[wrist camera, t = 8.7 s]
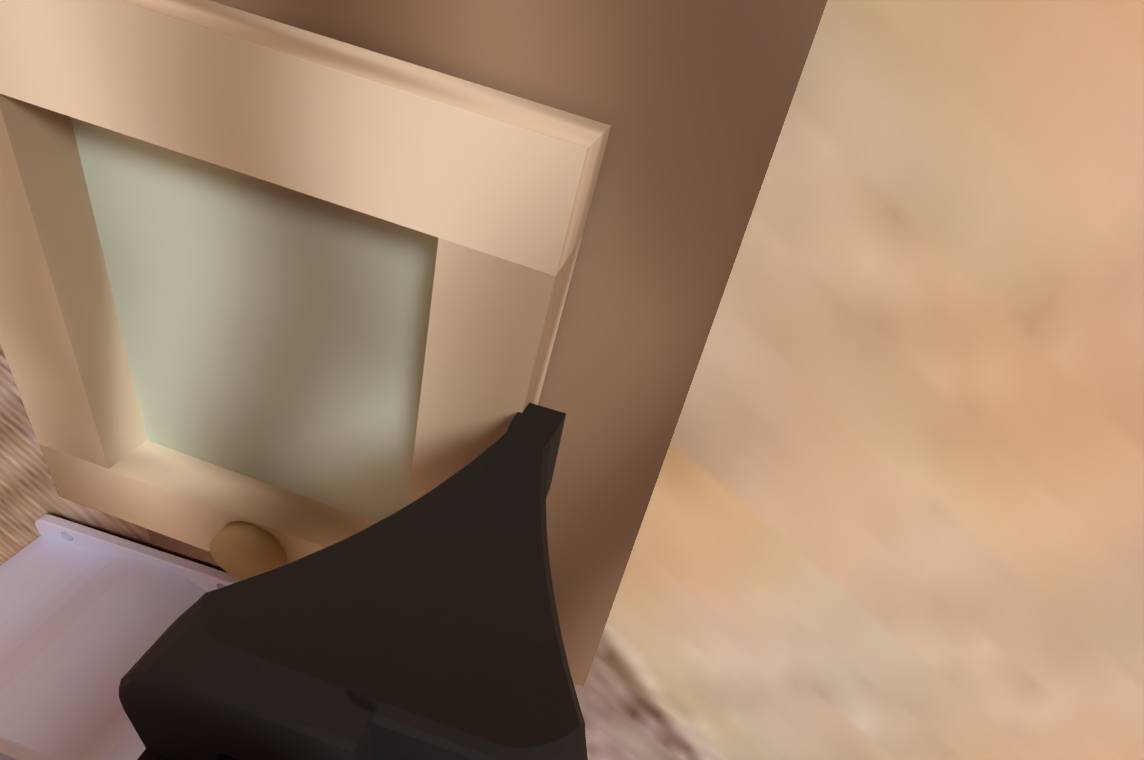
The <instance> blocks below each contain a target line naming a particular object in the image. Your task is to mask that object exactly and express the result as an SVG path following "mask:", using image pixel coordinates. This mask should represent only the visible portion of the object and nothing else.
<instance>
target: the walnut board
mask: <svg viewBox="0 0 1144 760" xmlns="http://www.w3.org/2000/svg"><path fill="white" fill-rule="evenodd" d="M210 1H213V2H216V3H220V4H223V5H226V6H229V7H232V8H236V9H239V10H242V11H245V12H248V13H252V14H255V15H258V16H261V17H264V18H268V19H271V20H274V21H277V22H280V23H284V24H287V25H290V26H293V27H296V28H300V29H303V30H306V31H309V32H312V33H316V34H319V35H322V36H325V37H328V38H332V39H335V40H338V41H341V42H345V43H348V44H351V45H354V46H357V47H361V48H364V49H367V50H370V51H373V52H377V53H380V54H383V55H386V56H389V57H393V58H396V59H399V60H402V61H405V62H409V63H412V64H415V65H418V66H421V67H425V68H428V69H431V70H434V71H437V72H441V73H444V74H447V75H450V76H453V77H457V78H460V79H463V80H466V81H470V82H473V83H476V84H479V85H482V86H486V87H489V88H492V89H495V90H498V91H502V92H505V93H508V94H511V95H514V96H518V97H521V98H524V99H527V100H530V101H534V102H537V103H540V104H543V105H546V106H550V107H553V108H556V109H559V110H562V111H566V112H569V113H572V114H575V115H578V116H582V117H585V118H588V119H591V120H594V121H598V122H601V123H604V124H607V125H611V128H610V132H609V136H608V140H607V144H606V147H605V151H604V155H603V159H602V163H601V166H600V170H599V174H598V178H597V182H596V185H595V189H594V193H593V197H592V201H591V204H590V208H589V212H588V216H587V220H586V223H585V227H584V231H583V235H582V239H581V242H580V246H579V250H578V254H577V257H576V261H575V265H574V269H573V273H572V276H571V280H570V284H569V288H568V292H567V295H566V299H565V303H564V307H563V311H562V314H561V318H560V322H559V326H558V330H557V333H556V337H555V341H554V345H553V349H552V352H551V356H550V360H549V364H548V368H547V371H546V375H545V379H544V383H543V387H542V390H541V394H540V398H539V402H538V405H540V406H543V407H546V408H550V409H553V410H556V411H560V412H563V413H566V417H565V422H564V426H563V431H562V436H561V440H560V445H559V450H558V454H557V459H556V464H555V468H554V473H553V478H552V482H551V486H550V489H549V492H548V494H547V497H546V522H547V539H548V551H549V561H550V569H551V577H552V584H553V591H554V597H555V602H556V608H557V613H558V618H559V624H560V629H561V634H562V640H563V644H564V648H565V652H566V656H567V661H568V665H569V669H570V673H571V677H572V680H573V682H574V683H577V684H580V685H583V686H584V683H585V681H586V678H587V675H588V672H589V669H590V667H591V664H592V661H593V658H594V655H595V652H596V650H597V647H598V644H599V641H600V638H601V636H602V633H603V630H604V627H605V624H606V622H607V619H608V616H609V613H610V610H611V607H612V605H613V602H614V599H615V596H616V593H617V591H618V588H619V585H620V582H621V579H622V577H623V574H624V571H625V568H626V565H627V562H628V560H629V557H630V554H631V551H632V548H633V546H634V543H635V540H636V537H637V534H638V532H639V529H640V526H641V523H642V520H643V517H644V515H645V512H646V509H647V506H648V503H649V501H650V498H651V495H652V492H653V489H654V487H655V484H656V481H657V478H658V475H659V472H660V470H661V467H662V464H663V461H664V458H665V456H666V453H667V450H668V447H669V444H670V442H671V439H672V436H673V433H674V430H675V427H676V425H677V422H678V419H679V416H680V413H681V411H682V408H683V405H684V402H685V399H686V397H687V394H688V391H689V388H690V385H691V382H692V380H693V377H694V374H695V371H696V368H697V366H698V363H699V360H700V357H701V354H702V352H703V349H704V346H705V343H706V340H707V337H708V335H709V332H710V329H711V326H712V323H713V321H714V318H715V315H716V312H717V309H718V307H719V304H720V301H721V298H722V295H723V292H724V290H725V287H726V284H727V281H728V278H729V276H730V273H731V270H732V267H733V264H734V261H735V259H736V256H737V253H738V250H739V247H740V245H741V242H742V239H743V236H744V233H745V231H746V228H747V225H748V222H749V219H750V216H751V214H752V211H753V208H754V205H755V202H756V200H757V197H758V194H759V191H760V188H761V186H762V183H763V180H764V177H765V174H766V171H767V169H768V166H769V163H770V160H771V157H772V155H773V152H774V149H775V146H776V143H777V141H778V138H779V135H780V132H781V129H782V126H783V124H784V121H785V118H786V115H787V112H788V110H789V107H790V104H791V101H792V98H793V96H794V93H795V90H796V87H797V84H798V81H799V79H800V76H801V73H802V70H803V67H804V65H805V62H806V59H807V56H808V53H809V51H810V48H811V45H812V42H813V39H814V36H815V34H816V31H817V28H818V25H819V22H820V20H821V17H822V14H823V11H824V8H825V6H826V3H827V0H210ZM148 532H149V535H150V538H151V541H152V543H153V545H156V546H159V547H162V548H165V549H168V550H171V551H174V552H177V553H180V554H183V555H186V556H189V557H192V558H195V559H198V560H202V561H205V562H208V563H211V564H214V565H217V566H219V565H218V564H217V562H216V561H215V560H214V558H213V557H212V555H211V552H209V551H206V550H203V549H201V548H198V547H195V546H193V545H190V544H187V543H184V542H182V541H179V540H176V539H174V538H171V537H168V536H165V535H163V534H160V533H157V532H155V531H152V530H149V529H148Z"/></svg>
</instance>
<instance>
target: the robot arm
mask: <svg viewBox="0 0 1144 760" xmlns="http://www.w3.org/2000/svg"><path fill="white" fill-rule="evenodd" d="M565 417H566V413H563V412H560V411H556V410H553V409H550V408H546V407H543V406H540V405H536V404H533V403H529V404H528V405H527V406H526V408H525V409H524V411H523V412H522V413H521V412H518V413H517V414H516V416H515V417H514V418H513V420H512V421H511V423H510V425H509V427H508V430H507V432H506V433H505V434H504V435H503V436H502V437H501V438H499V439H498V440H497V441H496V442H495V443H494V444H492V445H491V446H490V447H489V448H488V449H486V450H485V451H484V452H483V453H481V454H480V455H479V456H478V457H477V458H475V459H474V460H473V461H472V462H470V463H469V464H468V465H466V466H465V467H464V468H462V469H461V470H459V471H458V472H457V473H455V474H454V475H452V476H451V477H450V478H448V479H447V480H446V481H444V482H443V483H441V484H440V485H439V486H437V487H436V488H434V489H433V490H431V491H430V492H428V493H426V494H425V495H423V496H422V497H420V498H419V499H417V500H415V501H414V502H412V503H410V504H409V505H407V506H405V507H404V508H402V509H400V510H399V511H397V512H395V513H394V514H392V515H390V516H388V517H386V518H384V519H382V520H381V521H379V522H377V523H375V524H373V525H371V526H369V527H368V528H366V529H364V530H362V531H360V532H358V533H356V534H354V535H352V536H350V537H348V538H346V539H344V540H341V541H339V542H337V543H335V544H332V545H330V546H328V547H326V548H323V549H321V550H319V551H316V552H314V553H312V554H309V555H307V556H305V557H303V558H300V559H298V560H296V561H293V562H291V563H289V564H286V565H283V566H281V567H278V568H276V569H273V570H270V571H267V572H265V573H262V574H259V575H256V576H253V577H250V578H248V579H245V580H242V581H241V580H239V579H237V578H235V577H233V576H232V575H230V574H229V573H227V572H224V571H221V570H218V569H215V568H212V567H209V566H206V565H202V564H199V563H196V562H193V561H190V560H187V559H184V558H181V557H178V556H175V555H172V554H169V553H166V552H163V551H160V550H157V549H154V548H151V547H148V546H145V545H142V544H139V543H136V542H132V541H129V540H126V539H123V538H120V537H117V536H114V535H111V534H108V533H105V532H102V531H99V530H96V529H93V528H90V527H87V526H84V525H81V524H78V523H75V522H72V521H69V520H65V519H62V518H59V517H56V516H53V515H49V514H45V515H42V516H41V517H40V518H38V519H37V520H36V521H35V525H36V527H37V529H38V531H39V533H40V535H41V536H39V537H38V538H36V539H35V540H34V541H32V542H31V543H30V544H28V545H27V546H26V547H24V548H23V549H22V550H21V551H19V552H18V553H17V554H15V555H14V556H13V557H11V558H10V559H9V560H7V561H6V562H5V563H3V564H2V565H1V566H0V760H588V758H587V748H586V738H585V723H584V719H583V716H582V712H581V709H580V705H579V702H578V699H577V695H576V691H575V688H574V684H573V680H572V677H571V673H570V669H569V665H568V661H567V656H566V652H565V648H564V644H563V640H562V634H561V629H560V624H559V618H558V613H557V608H556V602H555V597H554V591H553V584H552V577H551V569H550V561H549V551H548V539H547V522H546V497H547V494H548V492H549V489H550V486H551V482H552V478H553V473H554V468H555V464H556V459H557V454H558V450H559V445H560V440H561V436H562V431H563V426H564V422H565Z"/></svg>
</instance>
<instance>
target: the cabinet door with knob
mask: <svg viewBox="0 0 1144 760" xmlns="http://www.w3.org/2000/svg"><path fill="white" fill-rule="evenodd" d="M610 128H611V125H607V124H604V123H601V122H598V121H594V120H591V119H588V118H585V117H582V116H578V115H575V114H572V113H569V112H566V111H562V110H559V109H556V108H553V107H550V106H546V105H543V104H540V103H537V102H534V101H530V100H527V99H524V98H521V97H518V96H514V95H511V94H508V93H505V92H502V91H498V90H495V89H492V88H489V87H486V86H482V85H479V84H476V83H473V82H470V81H466V80H463V79H460V78H457V77H453V76H450V75H447V74H444V73H441V72H437V71H434V70H431V69H428V68H425V67H421V66H418V65H415V64H412V63H409V62H405V61H402V60H399V59H396V58H393V57H389V56H386V55H383V54H380V53H377V52H373V51H370V50H367V49H364V48H361V47H357V46H354V45H351V44H348V43H345V42H341V41H338V40H335V39H332V38H328V37H325V36H322V35H319V34H316V33H312V32H309V31H306V30H303V29H300V28H296V27H293V26H290V25H287V24H284V23H280V22H277V21H274V20H271V19H268V18H264V17H261V16H258V15H255V14H252V13H248V12H245V11H242V10H239V9H236V8H232V7H229V6H226V5H223V4H220V3H216V2H213V1H210V0H0V344H1V346H2V349H3V352H4V354H5V357H6V359H7V362H8V365H9V367H10V370H11V372H12V375H13V378H14V380H15V383H16V385H17V388H18V391H19V393H20V396H21V398H22V401H23V404H24V406H25V409H26V412H27V414H28V417H29V419H30V422H31V425H32V427H33V430H34V432H35V435H36V438H37V440H38V443H39V445H40V448H41V451H42V453H43V456H44V458H45V461H46V464H47V466H48V469H49V471H50V474H51V477H52V479H53V482H54V485H55V487H56V490H57V492H58V495H59V496H60V497H62V498H65V499H68V500H70V501H73V502H76V503H79V504H81V505H84V506H87V507H89V508H92V509H95V510H98V511H100V512H103V513H106V514H108V515H111V516H114V517H117V518H119V519H122V520H125V521H127V522H130V523H133V524H136V525H138V526H141V527H144V528H146V529H149V530H152V531H155V532H157V533H160V534H163V535H165V536H168V537H171V538H174V539H176V540H179V541H182V542H184V543H187V544H190V545H193V546H195V547H198V548H201V549H203V550H206V551H209V552H211V555H212V557H213V558H214V560H215V561H216V562H217V564H218V565H219V566H220V567H221V568H222V569H224V570H225V571H226V572H227V573H229V574H230V575H232V576H233V577H235V578H237V579H239V580H241V581H242V580H245V579H248V578H250V577H253V576H256V575H259V574H262V573H265V572H267V571H270V570H273V569H276V568H278V567H281V566H283V565H286V564H289V563H291V562H293V561H296V560H298V559H300V558H303V557H305V556H307V555H309V554H312V553H314V552H316V551H319V550H321V549H323V548H326V547H328V546H330V545H332V544H335V543H337V542H339V541H341V540H344V539H346V538H348V537H350V536H352V535H354V534H356V533H358V532H360V531H362V530H364V529H366V528H368V527H369V526H371V525H373V524H375V523H377V522H379V521H381V520H382V519H384V518H386V517H388V516H390V515H392V514H394V513H395V512H397V511H399V510H400V509H402V508H404V507H405V506H407V505H409V504H410V503H412V502H414V501H415V500H417V499H419V498H420V497H422V496H423V495H425V494H426V493H428V492H430V491H431V490H433V489H434V488H436V487H437V486H439V485H440V484H441V483H443V482H444V481H446V480H447V479H448V478H450V477H451V476H452V475H454V474H455V473H457V472H458V471H459V470H461V469H462V468H464V467H465V466H466V465H468V464H469V463H470V462H472V461H473V460H474V459H475V458H477V457H478V456H479V455H480V454H481V453H483V452H484V451H485V450H486V449H488V448H489V447H490V446H491V445H492V444H494V443H495V442H496V441H497V440H498V439H499V438H501V437H502V436H503V435H504V434H505V433H506V432H507V430H508V427H509V425H510V423H511V421H512V420H513V418H514V417H515V416H516V414H517V413H518V412H521V413H522V412H523V411H524V409H525V408H526V406H527V405H528V404H529V403H533V404H536V405H538V402H539V398H540V394H541V390H542V387H543V383H544V379H545V375H546V371H547V368H548V364H549V360H550V356H551V352H552V349H553V345H554V341H555V337H556V333H557V330H558V326H559V322H560V318H561V314H562V311H563V307H564V303H565V299H566V295H567V292H568V288H569V284H570V280H571V276H572V273H573V269H574V265H575V261H576V257H577V254H578V250H579V246H580V242H581V239H582V235H583V231H584V227H585V223H586V220H587V216H588V212H589V208H590V204H591V201H592V197H593V193H594V189H595V185H596V182H597V178H598V174H599V170H600V166H601V163H602V159H603V155H604V151H605V147H606V144H607V140H608V136H609V132H610Z"/></svg>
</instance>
